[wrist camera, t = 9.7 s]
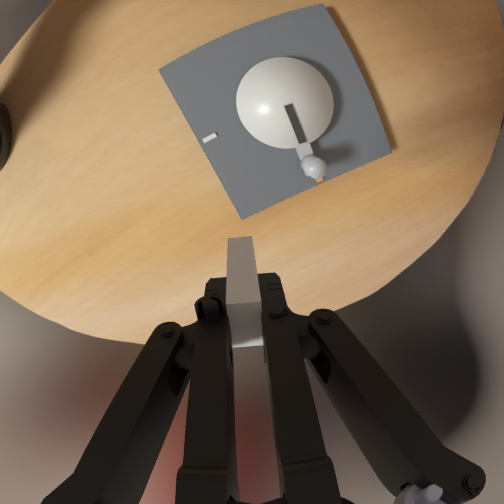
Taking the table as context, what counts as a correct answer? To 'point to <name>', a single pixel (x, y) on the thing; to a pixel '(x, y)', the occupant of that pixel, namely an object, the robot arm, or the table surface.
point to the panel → (236, 135)
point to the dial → (287, 108)
